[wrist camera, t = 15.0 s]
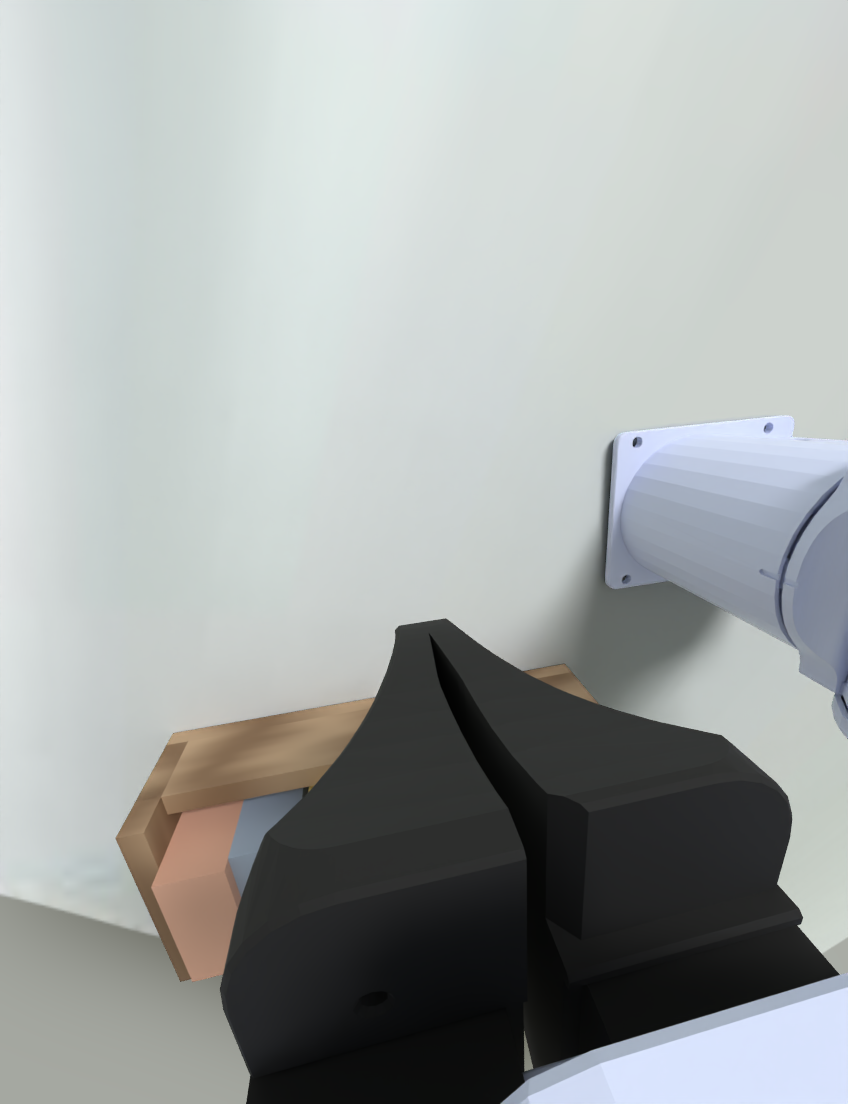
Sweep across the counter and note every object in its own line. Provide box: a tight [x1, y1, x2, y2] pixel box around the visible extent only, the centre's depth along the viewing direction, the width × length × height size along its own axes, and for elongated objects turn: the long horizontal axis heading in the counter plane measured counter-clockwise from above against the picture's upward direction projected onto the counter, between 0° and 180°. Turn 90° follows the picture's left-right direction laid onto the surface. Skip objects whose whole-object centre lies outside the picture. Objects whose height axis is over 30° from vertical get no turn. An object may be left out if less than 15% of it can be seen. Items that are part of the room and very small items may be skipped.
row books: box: [151, 787, 309, 982], centre depth 20 cm, size 5×6×6 cm
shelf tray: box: [116, 664, 598, 982], centre depth 22 cm, size 21×9×6 cm, turn 95°
